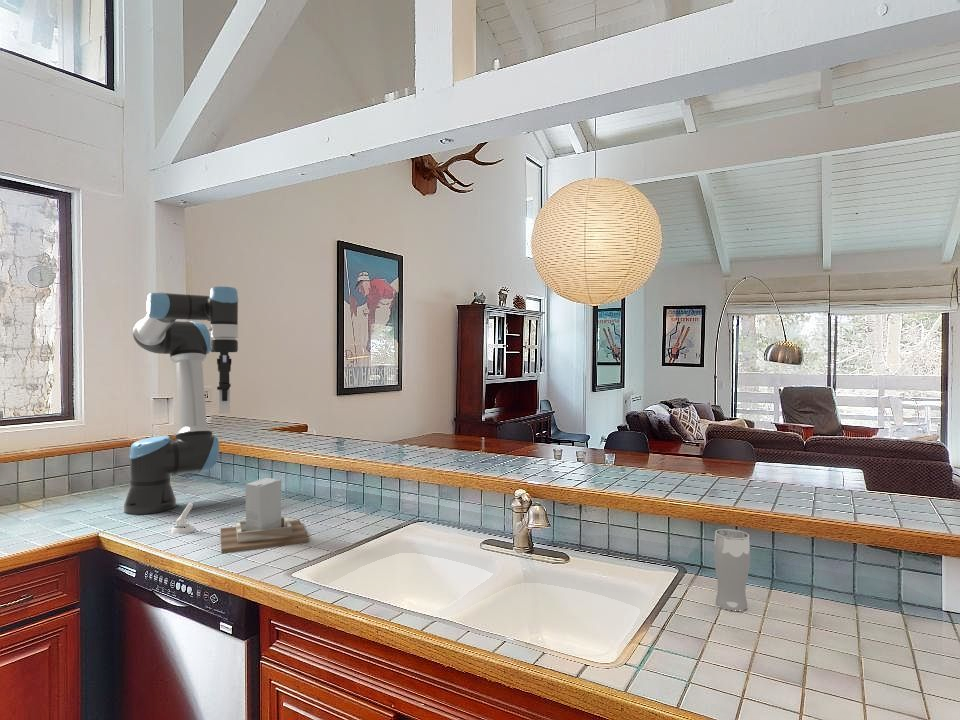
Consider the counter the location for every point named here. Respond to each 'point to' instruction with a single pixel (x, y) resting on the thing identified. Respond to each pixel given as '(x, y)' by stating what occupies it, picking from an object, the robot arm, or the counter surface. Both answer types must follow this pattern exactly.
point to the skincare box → (263, 504)
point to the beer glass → (731, 568)
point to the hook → (183, 522)
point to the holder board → (262, 536)
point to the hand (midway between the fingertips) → (224, 410)
